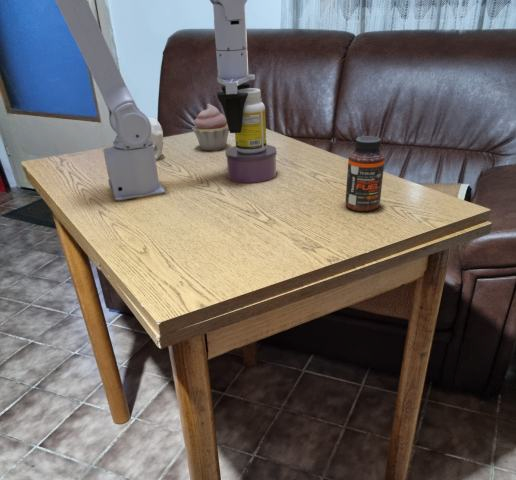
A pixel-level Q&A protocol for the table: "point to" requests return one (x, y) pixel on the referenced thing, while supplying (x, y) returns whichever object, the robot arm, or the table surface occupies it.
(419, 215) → the table surface
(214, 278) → the table surface
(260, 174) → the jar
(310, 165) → the table surface
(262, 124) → the pill bottle
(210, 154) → the table surface
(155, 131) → the penguin figurine
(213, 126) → the cupcake
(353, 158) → the supplement bottle
